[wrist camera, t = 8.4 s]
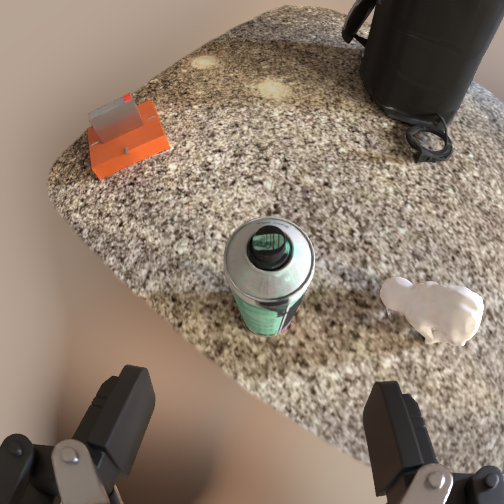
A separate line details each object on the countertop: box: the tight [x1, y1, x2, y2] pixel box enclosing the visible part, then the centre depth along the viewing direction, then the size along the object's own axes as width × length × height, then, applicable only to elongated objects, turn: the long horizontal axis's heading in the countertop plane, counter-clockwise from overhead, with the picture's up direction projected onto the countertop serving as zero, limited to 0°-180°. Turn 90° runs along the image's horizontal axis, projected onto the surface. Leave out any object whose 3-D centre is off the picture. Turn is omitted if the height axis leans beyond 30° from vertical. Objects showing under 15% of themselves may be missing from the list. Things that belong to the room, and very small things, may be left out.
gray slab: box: [89, 93, 144, 143], centre depth 39 cm, size 7×2×6 cm, turn 114°
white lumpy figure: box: [380, 277, 483, 346], centre depth 29 cm, size 6×8×12 cm
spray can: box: [224, 216, 315, 337], centre depth 25 cm, size 6×6×20 cm
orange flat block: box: [88, 99, 170, 180], centre depth 43 cm, size 12×11×3 cm
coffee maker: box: [341, 0, 504, 163], centre depth 32 cm, size 23×32×34 cm
